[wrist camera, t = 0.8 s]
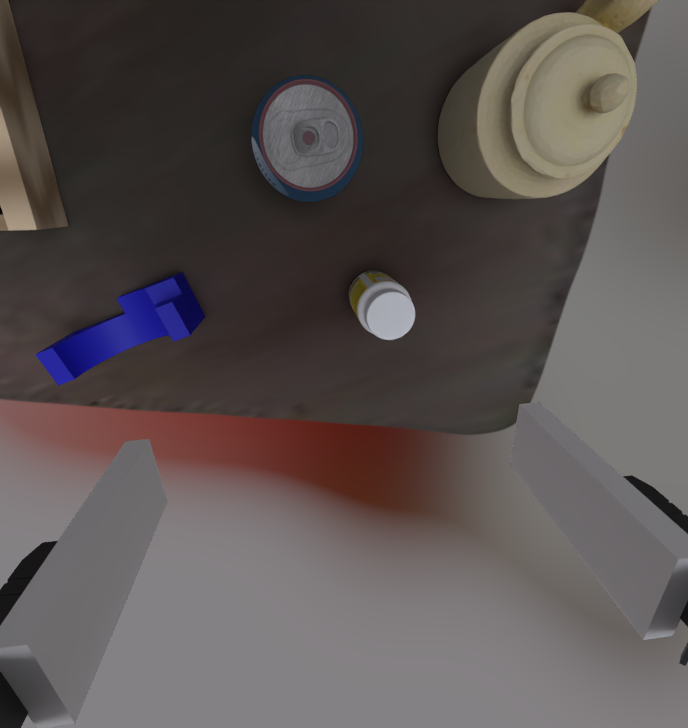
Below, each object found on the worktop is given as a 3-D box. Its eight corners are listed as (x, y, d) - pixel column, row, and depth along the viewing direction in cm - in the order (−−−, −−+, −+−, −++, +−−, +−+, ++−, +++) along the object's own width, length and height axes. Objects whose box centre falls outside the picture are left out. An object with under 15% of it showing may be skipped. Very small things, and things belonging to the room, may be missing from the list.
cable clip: (182, 271, 37) (162, 284, 31) (205, 315, 38) (190, 335, 33) (64, 317, 37) (23, 337, 31) (92, 359, 39) (58, 385, 33)
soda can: (273, 207, 35) (262, 210, 24) (255, 117, 32) (234, 73, 21) (350, 195, 35) (374, 193, 24) (339, 105, 33) (360, 56, 22)
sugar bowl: (455, -14, 31) (585, -191, 17) (585, 5, 32) (803, -143, 18) (426, 194, 36) (506, 190, 22) (538, 203, 38) (679, 204, 24)
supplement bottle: (362, 325, 40) (377, 355, 32) (339, 285, 38) (350, 306, 31) (403, 302, 40) (429, 326, 32) (382, 260, 38) (404, 275, 30)
